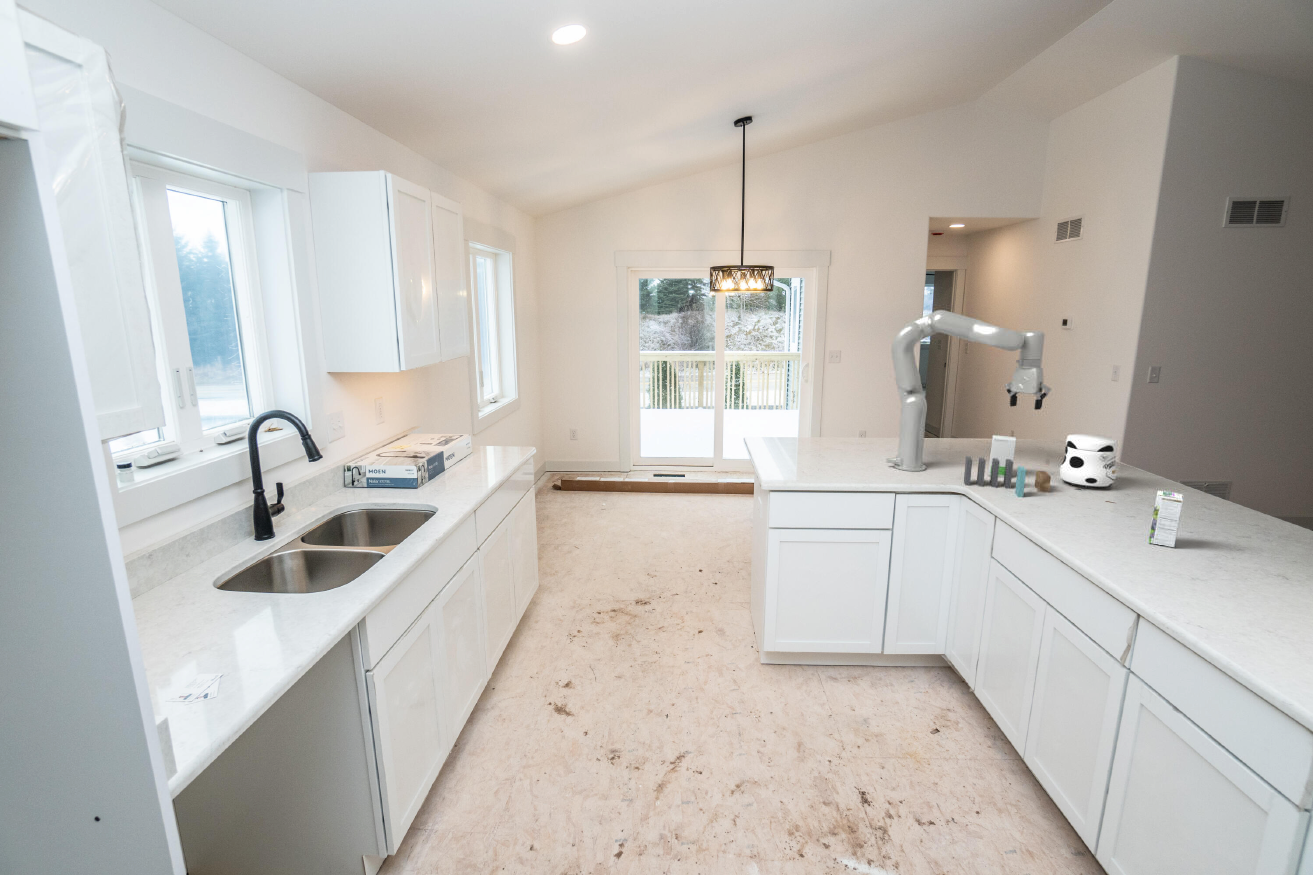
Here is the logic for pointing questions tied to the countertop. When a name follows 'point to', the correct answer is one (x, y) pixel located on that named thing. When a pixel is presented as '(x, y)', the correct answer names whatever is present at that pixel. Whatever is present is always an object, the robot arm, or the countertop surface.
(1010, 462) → the tile
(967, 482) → the tile
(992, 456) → the skincare box
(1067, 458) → the spotted treat jar
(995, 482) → the tile
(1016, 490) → the domino
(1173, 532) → the syrup box
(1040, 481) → the bookend
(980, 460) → the tile
